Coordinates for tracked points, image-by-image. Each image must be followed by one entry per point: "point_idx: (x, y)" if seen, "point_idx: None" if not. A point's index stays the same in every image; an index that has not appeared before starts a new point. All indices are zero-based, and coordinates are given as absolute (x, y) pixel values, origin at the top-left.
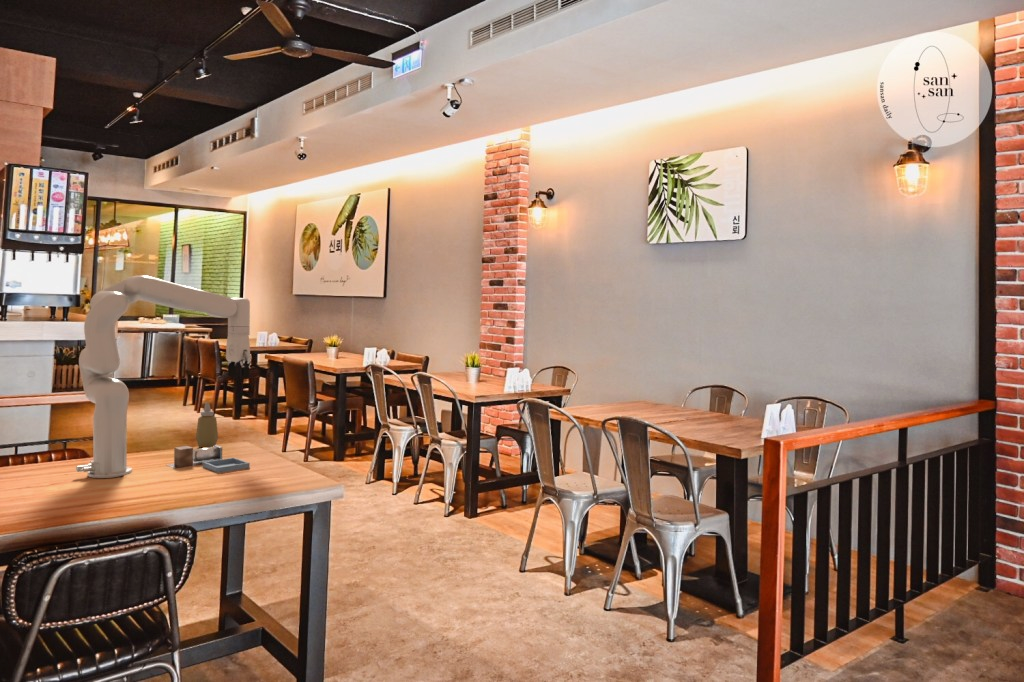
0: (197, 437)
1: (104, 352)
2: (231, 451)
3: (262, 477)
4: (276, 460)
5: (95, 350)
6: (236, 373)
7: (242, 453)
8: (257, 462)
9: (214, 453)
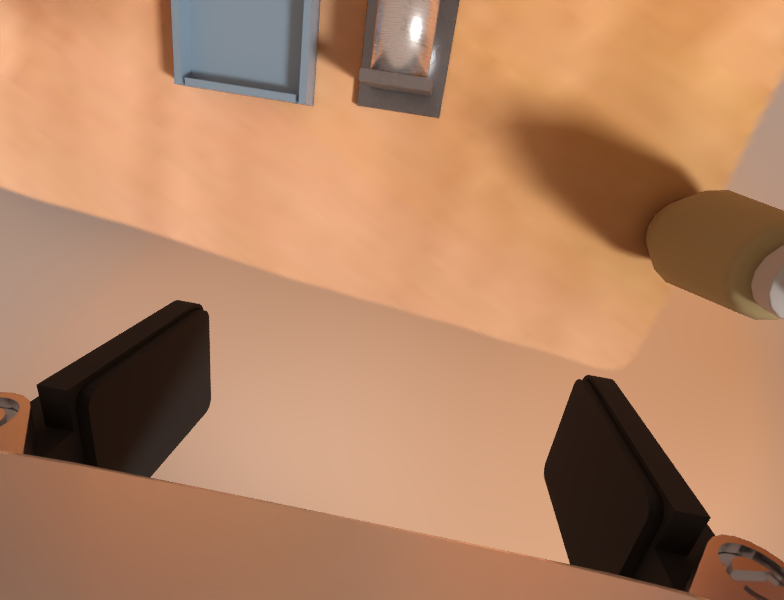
0: (729, 192)
1: None
2: (519, 245)
3: (41, 33)
4: (256, 249)
5: None
6: (549, 493)
7: (452, 249)
8: (272, 183)
9: (373, 44)
